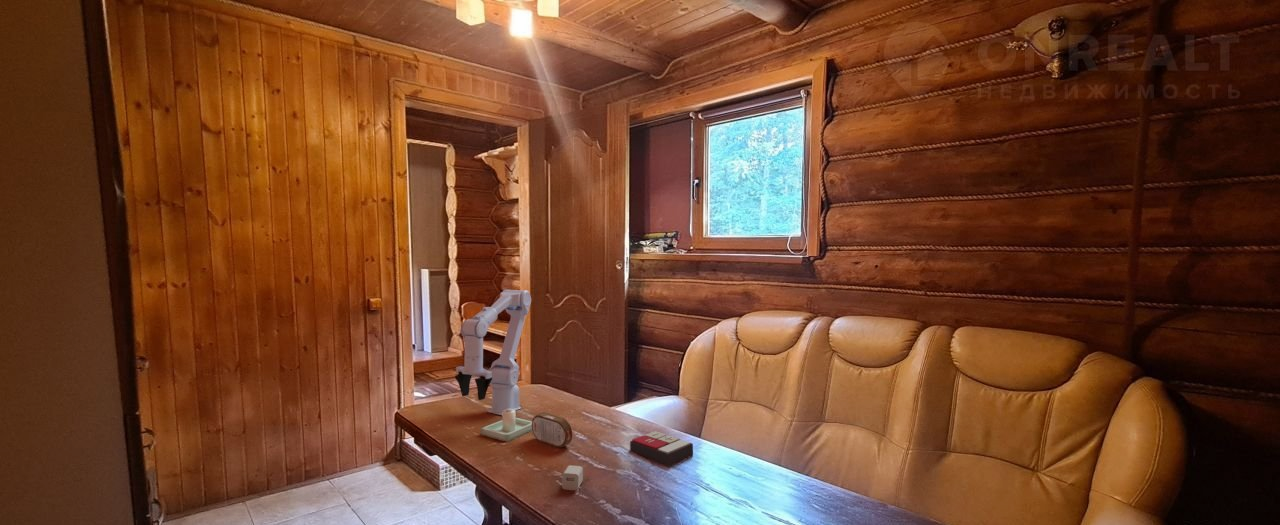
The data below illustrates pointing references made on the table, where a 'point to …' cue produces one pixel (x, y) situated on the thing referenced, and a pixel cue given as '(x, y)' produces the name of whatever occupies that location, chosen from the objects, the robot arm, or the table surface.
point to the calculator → (662, 448)
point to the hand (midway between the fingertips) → (473, 397)
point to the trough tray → (497, 433)
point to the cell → (508, 420)
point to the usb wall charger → (572, 477)
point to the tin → (552, 429)
